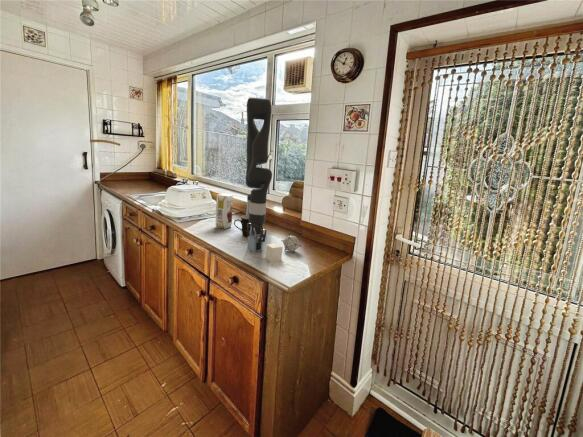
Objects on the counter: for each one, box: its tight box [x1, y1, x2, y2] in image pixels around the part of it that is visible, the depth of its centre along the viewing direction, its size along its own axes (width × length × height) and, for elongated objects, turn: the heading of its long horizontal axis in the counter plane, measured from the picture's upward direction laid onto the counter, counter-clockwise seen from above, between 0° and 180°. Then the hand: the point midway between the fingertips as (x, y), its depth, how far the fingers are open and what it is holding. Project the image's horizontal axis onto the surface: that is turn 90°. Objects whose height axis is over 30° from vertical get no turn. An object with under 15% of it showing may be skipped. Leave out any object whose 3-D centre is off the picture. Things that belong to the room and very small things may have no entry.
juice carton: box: [215, 192, 234, 230], centre depth 170 cm, size 8×9×19 cm
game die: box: [280, 233, 302, 254], centre depth 139 cm, size 9×8×10 cm
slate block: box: [247, 235, 264, 252], centre depth 138 cm, size 5×5×6 cm
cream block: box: [265, 243, 283, 263], centre depth 128 cm, size 5×5×6 cm
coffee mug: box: [233, 215, 250, 238], centre depth 159 cm, size 12×9×10 cm
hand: (255, 247), depth 138 cm, fingers open, 5 cm apart
